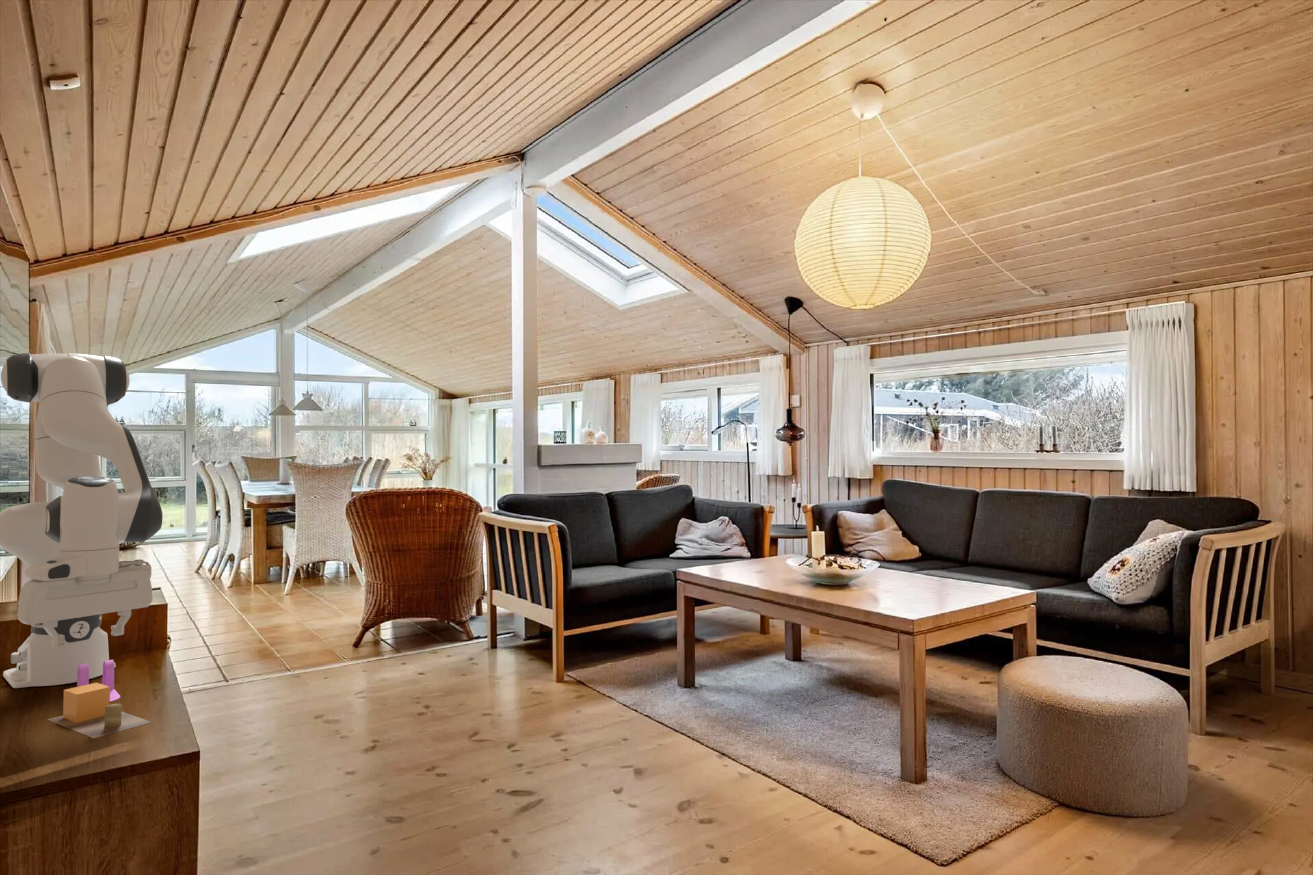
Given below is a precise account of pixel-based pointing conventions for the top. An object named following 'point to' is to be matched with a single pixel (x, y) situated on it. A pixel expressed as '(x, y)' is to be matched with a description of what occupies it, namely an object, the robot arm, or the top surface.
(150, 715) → the top surface
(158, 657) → the top surface
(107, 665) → the bracket
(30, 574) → the robot arm
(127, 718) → the peg board
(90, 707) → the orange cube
